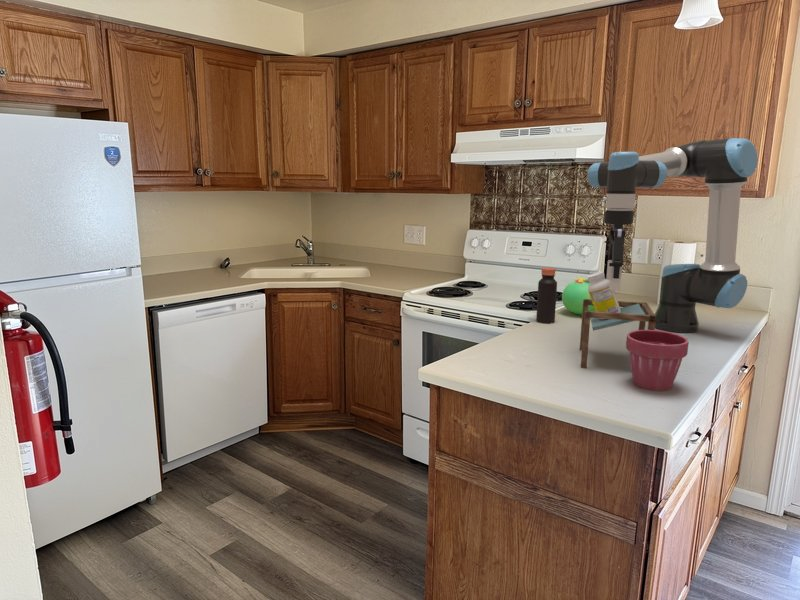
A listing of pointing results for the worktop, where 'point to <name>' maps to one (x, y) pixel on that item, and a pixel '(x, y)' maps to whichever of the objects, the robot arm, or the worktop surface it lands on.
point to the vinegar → (546, 296)
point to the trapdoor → (606, 323)
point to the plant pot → (655, 357)
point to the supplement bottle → (602, 294)
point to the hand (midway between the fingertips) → (612, 286)
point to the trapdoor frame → (587, 315)
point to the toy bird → (576, 296)
